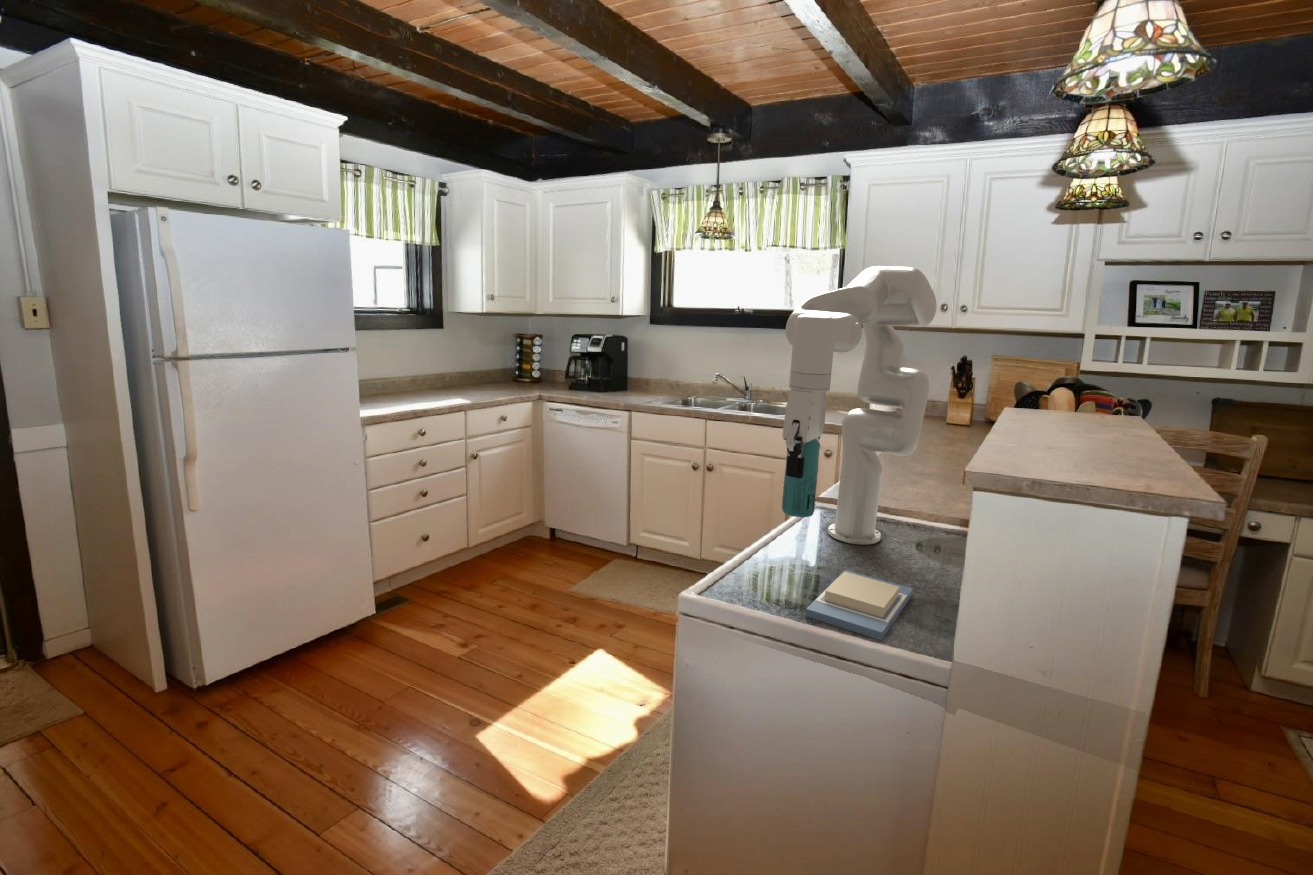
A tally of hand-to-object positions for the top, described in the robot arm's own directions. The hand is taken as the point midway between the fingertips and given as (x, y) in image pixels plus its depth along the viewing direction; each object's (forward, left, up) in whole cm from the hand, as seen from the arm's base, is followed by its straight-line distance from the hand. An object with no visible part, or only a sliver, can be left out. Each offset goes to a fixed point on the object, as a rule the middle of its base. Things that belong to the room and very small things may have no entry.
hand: (801, 471), depth 134 cm
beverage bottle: (0, 0, -10) cm, 10 cm away
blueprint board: (-2, +14, -25) cm, 28 cm away
